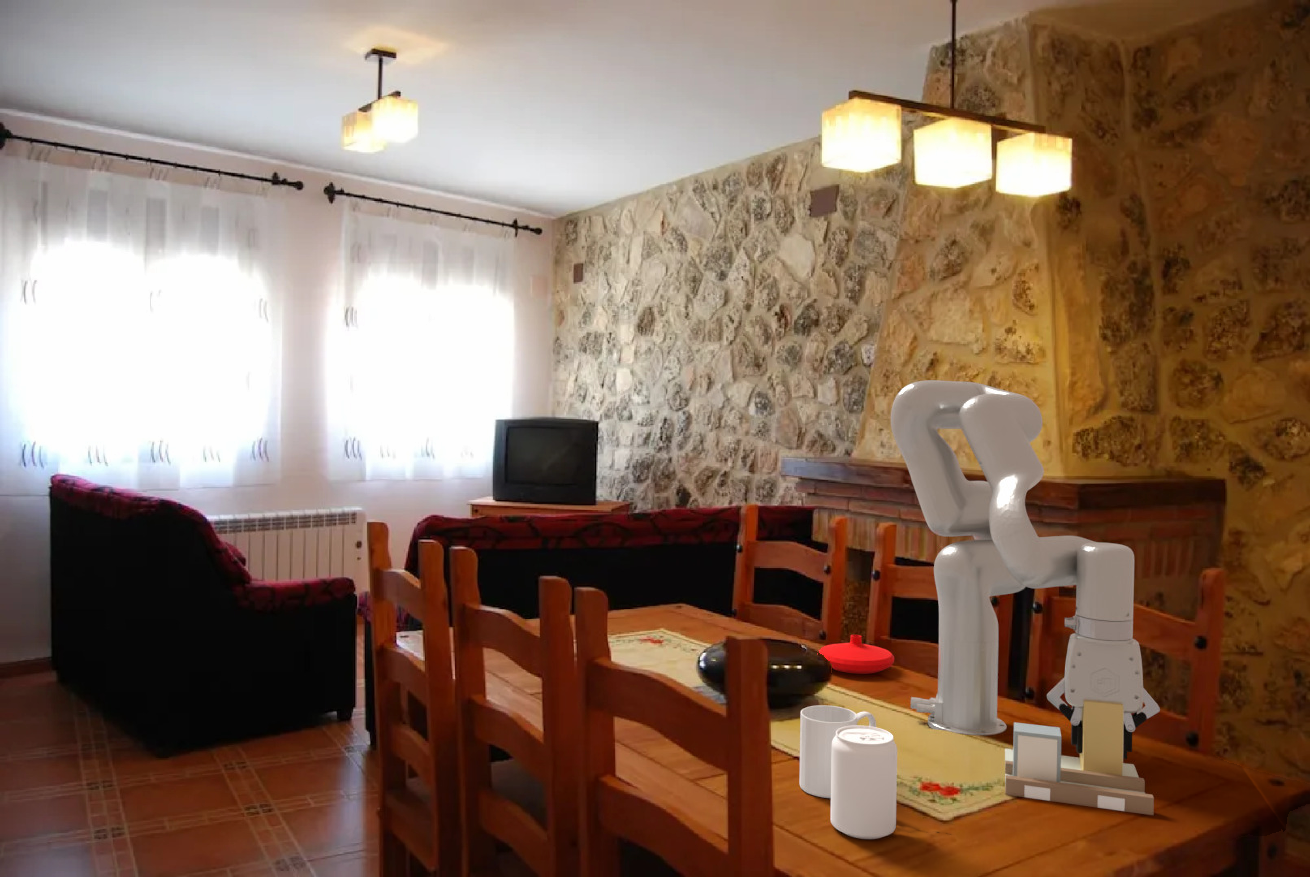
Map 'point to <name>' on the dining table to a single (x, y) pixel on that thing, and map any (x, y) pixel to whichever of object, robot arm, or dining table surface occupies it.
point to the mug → (822, 744)
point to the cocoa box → (1037, 752)
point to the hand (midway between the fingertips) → (1100, 751)
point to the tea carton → (1102, 737)
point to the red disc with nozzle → (857, 656)
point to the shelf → (1084, 787)
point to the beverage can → (863, 782)
